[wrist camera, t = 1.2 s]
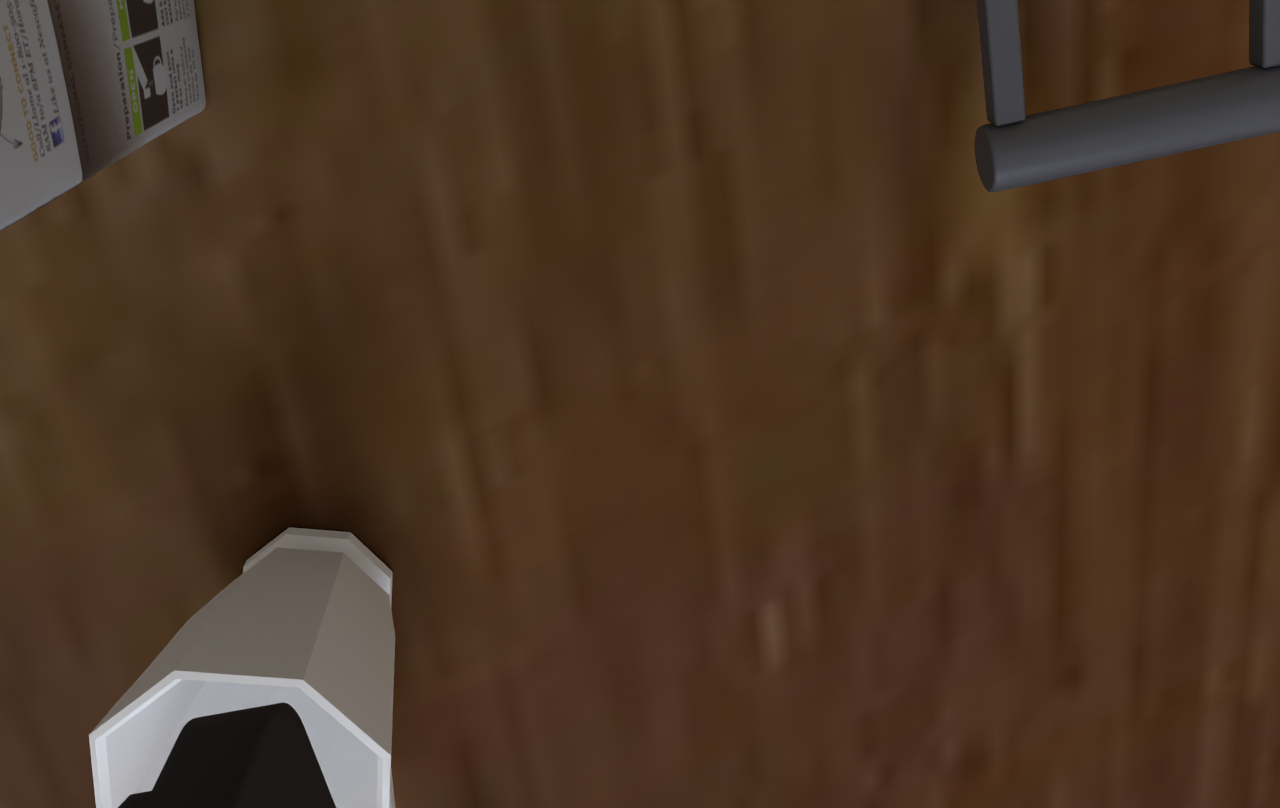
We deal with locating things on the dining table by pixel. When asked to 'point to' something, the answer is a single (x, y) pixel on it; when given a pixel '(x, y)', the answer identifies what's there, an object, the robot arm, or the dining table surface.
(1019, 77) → the drawer
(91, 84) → the coffee box
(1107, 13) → the dining table surface
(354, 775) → the cup
